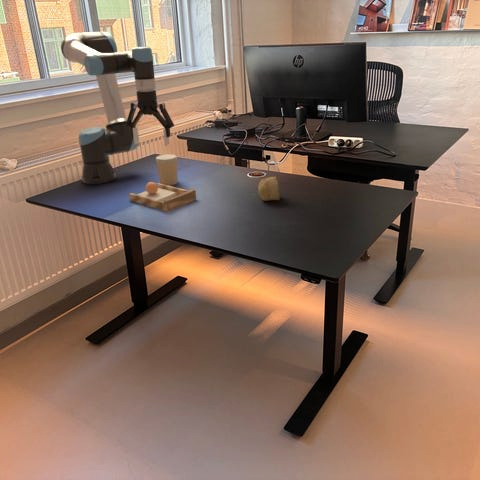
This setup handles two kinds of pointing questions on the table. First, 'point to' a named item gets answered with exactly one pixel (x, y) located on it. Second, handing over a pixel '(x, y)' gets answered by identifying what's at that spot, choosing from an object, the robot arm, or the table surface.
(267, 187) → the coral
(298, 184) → the table surface
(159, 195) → the mat
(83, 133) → the robot arm
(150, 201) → the lane frame
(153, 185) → the ball
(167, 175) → the coffee cup
